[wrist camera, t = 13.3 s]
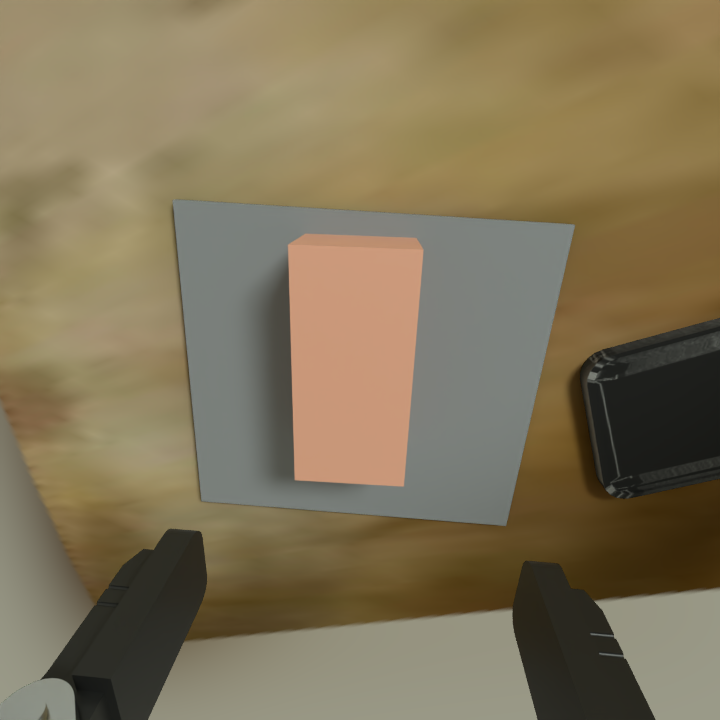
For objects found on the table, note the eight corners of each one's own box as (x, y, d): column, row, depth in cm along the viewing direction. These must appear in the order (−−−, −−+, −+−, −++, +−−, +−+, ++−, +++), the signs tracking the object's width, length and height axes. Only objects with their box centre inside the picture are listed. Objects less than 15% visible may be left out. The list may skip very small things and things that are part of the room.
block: (294, 480, 18) (288, 244, 15) (308, 435, 21) (305, 233, 18) (403, 486, 18) (423, 249, 15) (400, 440, 21) (416, 237, 18)
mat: (570, 224, 18) (574, 225, 17) (503, 520, 23) (505, 525, 23) (176, 199, 18) (172, 199, 18) (204, 496, 24) (201, 501, 23)
